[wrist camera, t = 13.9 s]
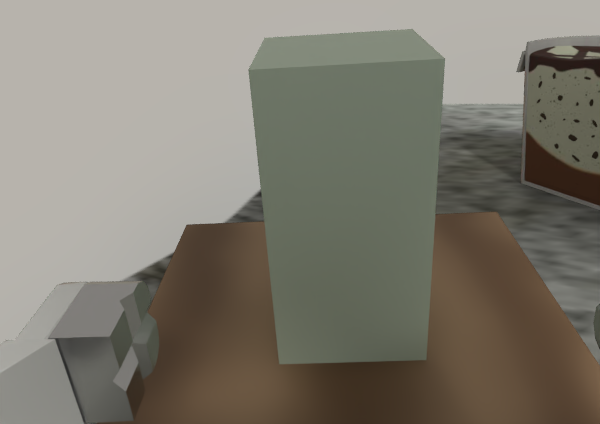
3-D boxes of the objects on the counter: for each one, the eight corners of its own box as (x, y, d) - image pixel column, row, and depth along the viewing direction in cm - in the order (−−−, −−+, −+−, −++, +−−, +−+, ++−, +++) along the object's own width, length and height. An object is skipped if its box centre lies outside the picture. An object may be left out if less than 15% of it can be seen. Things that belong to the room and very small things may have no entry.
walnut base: (488, 277, 29) (496, 211, 27) (657, 605, 15) (698, 513, 13) (198, 287, 30) (186, 224, 28) (90, 608, 15) (52, 523, 14)
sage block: (403, 276, 22) (412, 29, 18) (426, 360, 18) (445, 58, 13) (286, 281, 23) (264, 37, 18) (279, 364, 18) (248, 69, 14)
